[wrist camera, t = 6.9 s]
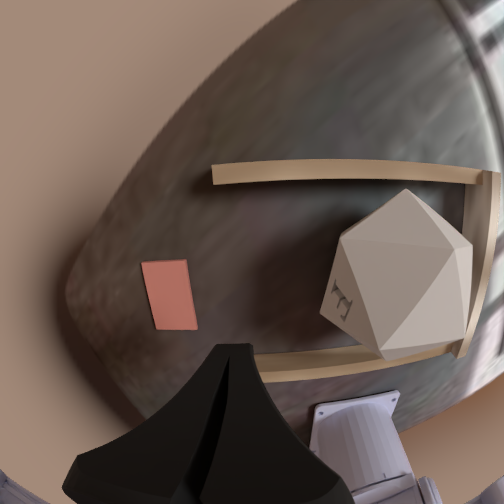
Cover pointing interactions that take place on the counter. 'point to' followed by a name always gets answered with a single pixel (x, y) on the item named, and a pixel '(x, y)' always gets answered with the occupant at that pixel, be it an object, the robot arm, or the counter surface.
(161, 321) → the mat
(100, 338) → the counter surface
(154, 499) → the robot arm
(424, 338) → the die
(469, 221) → the channel
